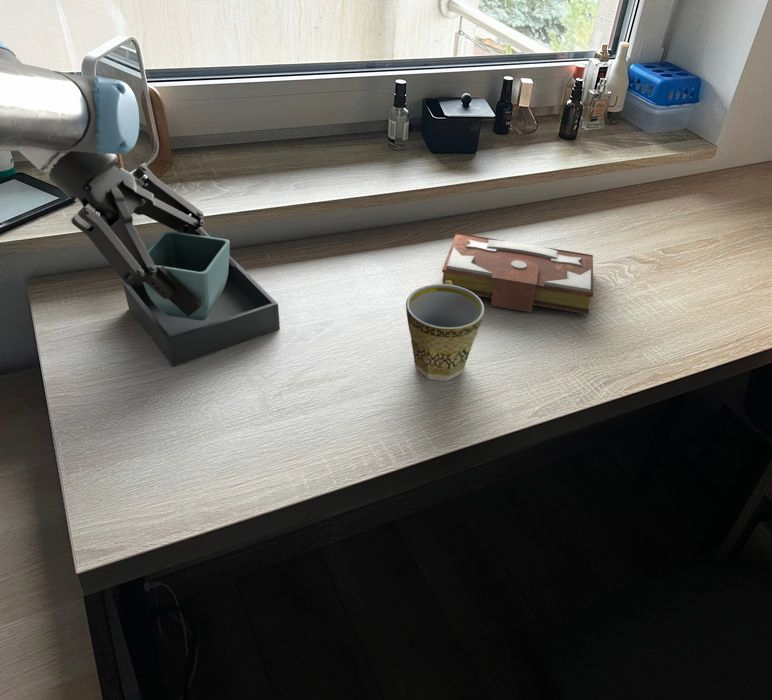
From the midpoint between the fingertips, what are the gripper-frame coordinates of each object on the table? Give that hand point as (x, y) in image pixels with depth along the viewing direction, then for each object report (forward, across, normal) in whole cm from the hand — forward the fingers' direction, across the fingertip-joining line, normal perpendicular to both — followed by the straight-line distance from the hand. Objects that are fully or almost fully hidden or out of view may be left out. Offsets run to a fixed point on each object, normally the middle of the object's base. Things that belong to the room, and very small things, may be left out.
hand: (213, 289), depth 94 cm
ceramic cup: (+27, +4, -16) cm, 31 cm away
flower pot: (+1, 0, +5) cm, 5 cm away
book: (+32, +26, -22) cm, 47 cm away
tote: (+3, +2, +8) cm, 8 cm away
